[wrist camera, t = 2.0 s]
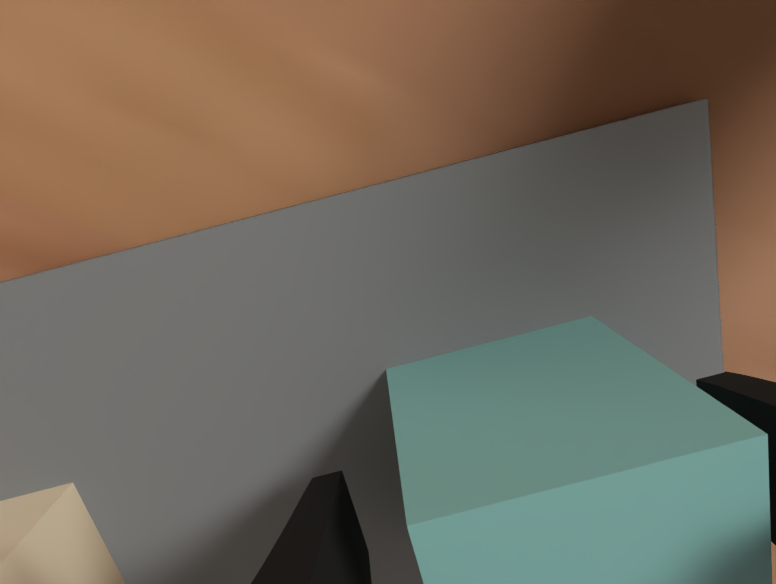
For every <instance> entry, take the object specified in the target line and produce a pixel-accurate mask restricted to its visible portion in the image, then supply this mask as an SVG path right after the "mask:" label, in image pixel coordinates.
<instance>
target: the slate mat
mask: <svg viewBox="0 0 776 584" xmlns="http://www.w3.org/2000/svg"><path fill="white" fill-rule="evenodd" d="M590 316H592V317H594V318H595V319H597V320H598V321H600V322H601V323H603V324H604V325H606V326H607V327H609V328H610V329H612V330H613V331H615V332H616V333H618V334H619V335H621V336H622V337H624V338H625V339H627V340H628V341H630V342H631V343H633V344H634V345H636V346H637V347H639V348H640V349H642V350H643V351H645V352H646V353H648V354H649V355H650V356H652V357H653V358H655V359H656V360H658V361H659V362H661V363H662V364H664V365H665V366H667V367H668V368H670V369H671V370H673V371H674V372H676V373H677V374H679V375H680V376H682V377H683V378H685V379H686V380H688V381H689V382H691V383H692V384H694V385H695V386H696V379H700V378H704V377H708V376H712V375H716V374H720V373H724V372H723V354H722V337H721V319H720V302H719V284H718V266H717V249H716V231H715V214H714V196H713V178H712V161H711V143H710V126H709V108H708V98H707V99H702V100H696V101H692V102H689V103H685V104H681V105H677V106H673V107H669V108H666V109H662V110H658V111H654V112H650V113H647V114H643V115H639V116H635V117H631V118H627V119H624V120H620V121H616V122H612V123H608V124H604V125H601V126H597V127H593V128H589V129H585V130H582V131H578V132H574V133H570V134H566V135H562V136H559V137H555V138H551V139H547V140H543V141H539V142H536V143H532V144H528V145H524V146H520V147H517V148H513V149H509V150H505V151H501V152H497V153H494V154H490V155H486V156H482V157H478V158H474V159H471V160H467V161H463V162H459V163H455V164H451V165H448V166H444V167H440V168H436V169H432V170H429V171H425V172H421V173H417V174H413V175H409V176H406V177H402V178H398V179H394V180H390V181H386V182H383V183H379V184H375V185H371V186H367V187H364V188H360V189H356V190H352V191H348V192H344V193H341V194H337V195H333V196H329V197H325V198H321V199H318V200H314V201H310V202H306V203H302V204H299V205H295V206H291V207H287V208H283V209H279V210H276V211H272V212H268V213H264V214H260V215H256V216H253V217H249V218H245V219H241V220H237V221H234V222H230V223H226V224H222V225H218V226H214V227H211V228H207V229H203V230H199V231H195V232H191V233H188V234H184V235H180V236H176V237H172V238H169V239H165V240H161V241H157V242H153V243H149V244H146V245H142V246H138V247H134V248H130V249H126V250H123V251H119V252H115V253H111V254H107V255H104V256H100V257H96V258H92V259H88V260H84V261H81V262H77V263H73V264H69V265H65V266H61V267H58V268H54V269H50V270H46V271H42V272H39V273H35V274H31V275H27V276H23V277H19V278H16V279H12V280H8V281H4V282H0V501H3V500H7V499H11V498H14V497H18V496H22V495H26V494H30V493H34V492H38V491H42V490H46V489H49V488H53V487H57V486H61V485H65V484H69V483H73V484H74V486H75V488H76V489H77V491H78V493H79V495H80V497H81V499H82V501H83V503H84V505H85V507H86V509H87V511H88V513H89V515H90V516H91V518H92V520H93V522H94V524H95V526H96V528H97V530H98V532H99V534H100V536H101V538H102V540H103V542H104V543H105V545H106V547H107V549H108V551H109V553H110V555H111V557H112V559H113V561H114V563H115V565H116V567H117V568H118V570H119V572H120V574H121V576H122V578H123V580H124V582H125V584H251V582H252V581H253V579H254V578H255V576H256V575H257V573H258V571H259V570H260V568H261V566H262V565H263V563H264V561H265V560H266V558H267V556H268V555H269V553H270V551H271V550H272V548H273V546H274V544H275V543H276V541H277V539H278V538H279V536H280V534H281V533H282V531H283V529H284V527H285V525H286V524H287V522H288V520H289V518H290V517H291V515H292V513H293V511H294V509H295V508H296V506H297V504H298V502H299V500H300V498H301V497H302V495H303V493H304V491H305V489H306V488H307V486H308V484H309V483H310V481H311V479H312V478H314V477H318V476H322V475H325V474H329V473H333V472H337V471H341V470H342V472H343V475H344V478H345V481H346V484H347V487H348V490H349V493H350V496H351V499H352V502H353V505H354V508H355V511H356V514H357V517H358V520H359V523H360V527H361V530H362V533H363V536H364V539H365V542H366V545H367V548H368V551H369V561H370V571H371V582H372V584H424V583H423V580H422V576H421V573H420V569H419V566H418V563H417V559H416V556H415V552H414V549H413V546H412V542H411V539H410V535H409V532H408V528H407V524H406V516H405V509H404V501H403V494H402V486H401V479H400V471H399V463H398V456H397V448H396V441H395V433H394V426H393V418H392V411H391V403H390V396H389V388H388V381H387V373H386V369H389V368H392V367H396V366H400V365H404V364H408V363H412V362H416V361H420V360H424V359H427V358H431V357H435V356H439V355H443V354H447V353H451V352H455V351H458V350H462V349H466V348H470V347H474V346H478V345H482V344H486V343H489V342H493V341H497V340H501V339H505V338H509V337H513V336H517V335H521V334H524V333H528V332H532V331H536V330H540V329H544V328H548V327H552V326H555V325H559V324H563V323H567V322H571V321H575V320H579V319H583V318H586V317H590Z"/></svg>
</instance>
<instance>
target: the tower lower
mask: <svg viewBox="0 0 776 584" xmlns="http://www.w3.org/2000/svg"><path fill="white" fill-rule="evenodd" d="M0 584H125V582H124V580H123V578H122V576H121V574H120V572H119V570H118V568H117V567H116V565H115V563H114V561H113V559H112V557H111V555H110V553H109V551H108V549H107V547H106V545H105V543H104V542H103V540H102V538H101V536H100V534H99V532H98V530H97V528H96V526H95V524H94V522H93V520H92V518H91V516H90V515H89V513H88V511H87V509H86V507H85V505H84V503H83V501H82V499H81V497H80V495H79V493H78V491H77V489H76V488H75V486H74V484H73V483H69V484H65V485H61V486H57V487H53V488H49V489H46V490H42V491H38V492H34V493H30V494H26V495H22V496H18V497H14V498H11V499H7V500H3V501H0Z"/></svg>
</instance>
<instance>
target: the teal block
mask: <svg viewBox="0 0 776 584" xmlns="http://www.w3.org/2000/svg"><path fill="white" fill-rule="evenodd" d="M386 373H387V381H388V388H389V396H390V403H391V411H392V418H393V426H394V433H395V441H396V448H397V456H398V463H399V471H400V479H401V486H402V494H403V501H404V509H405V516H406V524H407V528H408V532H409V535H410V539H411V542H412V546H413V549H414V552H415V556H416V559H417V563H418V566H419V569H420V573H421V576H422V580H423V583H424V584H772V563H771V529H770V495H769V460H768V434H767V433H765V432H764V431H762V430H761V429H759V428H758V427H756V426H755V425H753V424H752V423H750V422H749V421H747V420H746V419H744V418H743V417H741V416H740V415H738V414H737V413H735V412H734V411H732V410H731V409H729V408H728V407H726V406H725V405H723V404H722V403H720V402H719V401H718V400H716V399H715V398H713V397H712V396H710V395H709V394H707V393H706V392H704V391H703V390H701V389H700V388H698V387H697V386H695V385H694V384H692V383H691V382H689V381H688V380H686V379H685V378H683V377H682V376H680V375H679V374H677V373H676V372H674V371H673V370H671V369H670V368H668V367H667V366H665V365H664V364H662V363H661V362H659V361H658V360H656V359H655V358H653V357H652V356H650V355H649V354H648V353H646V352H645V351H643V350H642V349H640V348H639V347H637V346H636V345H634V344H633V343H631V342H630V341H628V340H627V339H625V338H624V337H622V336H621V335H619V334H618V333H616V332H615V331H613V330H612V329H610V328H609V327H607V326H606V325H604V324H603V323H601V322H600V321H598V320H597V319H595V318H594V317H592V316H590V317H586V318H583V319H579V320H575V321H571V322H567V323H563V324H559V325H555V326H552V327H548V328H544V329H540V330H536V331H532V332H528V333H524V334H521V335H517V336H513V337H509V338H505V339H501V340H497V341H493V342H489V343H486V344H482V345H478V346H474V347H470V348H466V349H462V350H458V351H455V352H451V353H447V354H443V355H439V356H435V357H431V358H427V359H424V360H420V361H416V362H412V363H408V364H404V365H400V366H396V367H392V368H389V369H386Z"/></svg>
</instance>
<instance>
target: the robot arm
mask: <svg viewBox="0 0 776 584" xmlns="http://www.w3.org/2000/svg"><path fill="white" fill-rule="evenodd" d="M696 386H697V387H698V388H700V389H701V390H703V391H704V392H706V393H707V394H709V395H710V396H712V397H713V398H715V399H716V400H718V401H719V402H720V403H722V404H723V405H725V406H726V407H728V408H729V409H731V410H732V411H734V412H735V413H737V414H738V415H740V416H741V417H743V418H744V419H746V420H747V421H749V422H750V423H752V424H753V425H755V426H756V427H758V428H759V429H761V430H762V431H764V432H765V433H767V434H768V460H769V495H770V529H771V541H772V542H773V543H774V544H775V545H776V383H775V382H771V381H767V380H763V379H759V378H755V377H750V376H746V375H741V374H736V373H730V372H724V373H720V374H716V375H712V376H708V377H704V378H700V379H696ZM251 584H372V582H371V571H370V561H369V551H368V548H367V545H366V542H365V539H364V536H363V533H362V530H361V527H360V523H359V520H358V517H357V514H356V511H355V508H354V505H353V502H352V499H351V496H350V493H349V490H348V487H347V484H346V481H345V478H344V475H343V472H342V470H341V471H337V472H333V473H329V474H325V475H322V476H318V477H314V478H312V479H311V481H310V483H309V484H308V486H307V488H306V489H305V491H304V493H303V495H302V497H301V498H300V500H299V502H298V504H297V506H296V508H295V509H294V511H293V513H292V515H291V517H290V518H289V520H288V522H287V524H286V525H285V527H284V529H283V531H282V533H281V534H280V536H279V538H278V539H277V541H276V543H275V544H274V546H273V548H272V550H271V551H270V553H269V555H268V556H267V558H266V560H265V561H264V563H263V565H262V566H261V568H260V570H259V571H258V573H257V575H256V576H255V578H254V579H253V581H252V582H251Z"/></svg>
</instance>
